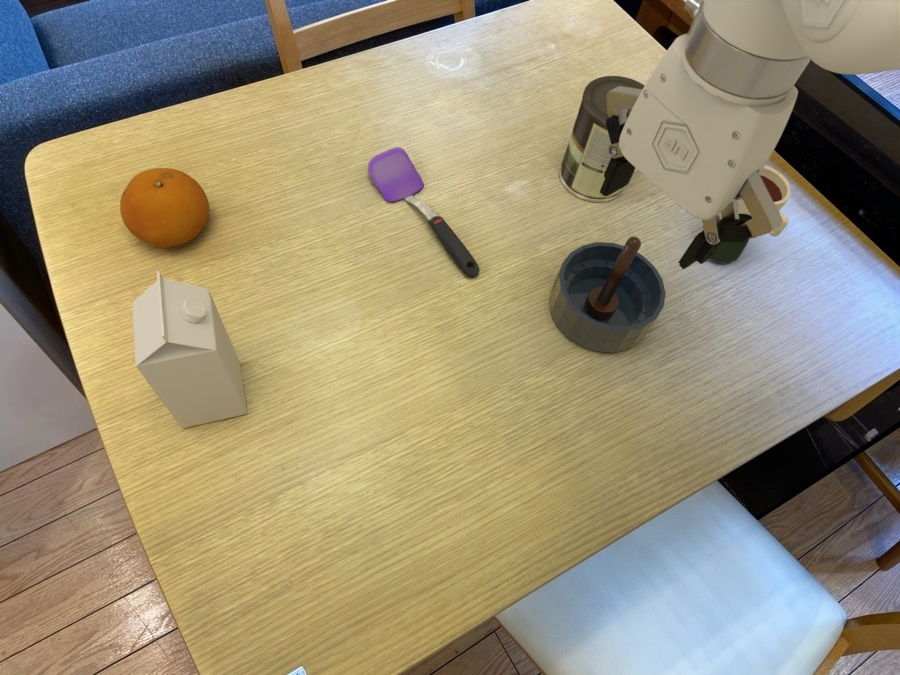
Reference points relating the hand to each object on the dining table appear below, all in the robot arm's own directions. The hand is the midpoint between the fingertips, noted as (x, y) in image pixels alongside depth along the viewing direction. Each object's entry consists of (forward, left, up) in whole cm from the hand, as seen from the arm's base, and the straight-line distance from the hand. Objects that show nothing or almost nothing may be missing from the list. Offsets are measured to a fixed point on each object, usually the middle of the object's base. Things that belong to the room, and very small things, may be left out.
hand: (651, 223), depth 55 cm
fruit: (+46, +31, -26) cm, 61 cm away
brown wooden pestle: (+4, -8, -26) cm, 27 cm away
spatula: (+29, +2, -26) cm, 39 cm away
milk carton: (+21, +38, -26) cm, 51 cm away
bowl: (+4, -8, -26) cm, 28 cm away
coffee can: (+22, -24, -26) cm, 42 cm away
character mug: (+2, -30, -26) cm, 40 cm away
